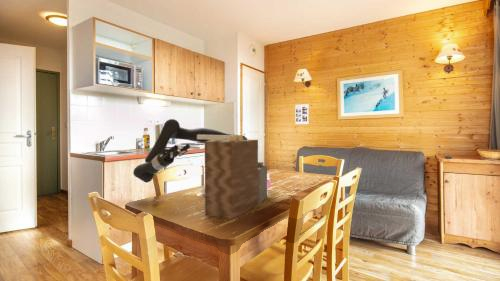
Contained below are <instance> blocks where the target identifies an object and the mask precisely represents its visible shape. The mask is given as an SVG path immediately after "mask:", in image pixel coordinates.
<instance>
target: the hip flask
mask: <svg viewBox="0 0 500 281" xmlns="http://www.w3.org/2000/svg"><path fill="white" fill-rule="evenodd" d="M266 198H268V165H267V164H264V162H263V161H258V205H261V204H262V202H263V201H264V200H265V199H266Z"/></svg>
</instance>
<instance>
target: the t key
mask: <svg viewBox="0 0 500 281" xmlns="http://www.w3.org/2000/svg"><path fill="white" fill-rule="evenodd" d="M243 136H244V135H243V134H232V135H197V139H209V140H230V141H235V140H243Z"/></svg>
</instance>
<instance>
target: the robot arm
mask: <svg viewBox="0 0 500 281" xmlns="http://www.w3.org/2000/svg"><path fill="white" fill-rule="evenodd" d="M197 135H233V134H230V133H225V132H222V131H218V130H216V129H215V130H214V129H212V128H208V127H207V128H206V127H196V128H185V127H181V126H180V123H179V121H178V120H176V119H175V118H170V119H166V121H165V122H164V124H163V126H162V129H161V131H160V134H159V135H158V138H157V139H156V141H155V142H154V144H153V146H152V148H151V149H150V151H149V153H148V154H147V156H146V158H144V161H145V162H143V163H141V164H139V165H137V166H136V167H135V168H134V169H133V176H134V177H135V178H137V179H139V180H140V181H142V182H143V183H150V182H151V181H152V180H153V179H154V177H155V174H157V173H158V172H160V171H162V170H164V169H165V168H167V167H168V166H169V165H172V164H173V163H174V161H175V159H176V158H177V157H181V156H183V155H184V154H186V153H188V152H189V151H188V150H189V149H190V148H191V145H190V143H187V144H186V145H184V146H182V147H181V148H180V147H179V146H178V144H175V145H174V146H172V147H169V148H167V145H168V143H169V142H170V140H171V139H173V140H175V139H176V140H186V141H191V142H196V143H201V144H205V141H207V140H209V139H197ZM243 138H247V137H246V136H245V135H243ZM247 140H249V139H248V138H247Z"/></svg>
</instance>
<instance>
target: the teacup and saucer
mask: <svg viewBox="0 0 500 281" xmlns="http://www.w3.org/2000/svg"><path fill="white" fill-rule="evenodd" d="M200 190H201V191H200V192H199V193H197V194H196V196H197V197H201V198H202V197H204V198H205V187H201V189H200Z"/></svg>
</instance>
